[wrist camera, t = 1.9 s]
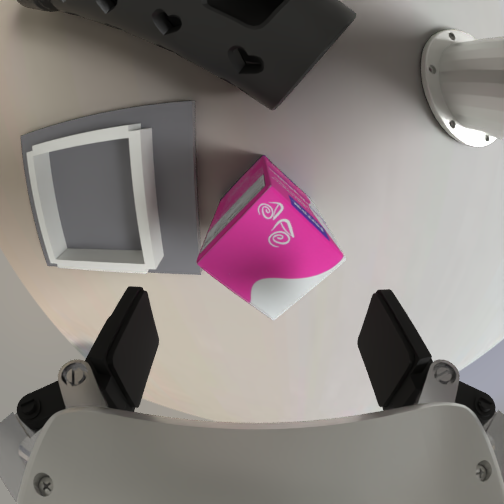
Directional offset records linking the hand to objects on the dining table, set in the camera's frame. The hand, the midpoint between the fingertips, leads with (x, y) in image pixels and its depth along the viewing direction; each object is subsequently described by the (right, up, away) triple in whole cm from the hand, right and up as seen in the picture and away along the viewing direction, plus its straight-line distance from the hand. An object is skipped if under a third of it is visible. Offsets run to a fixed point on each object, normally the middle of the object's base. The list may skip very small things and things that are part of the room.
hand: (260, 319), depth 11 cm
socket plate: (-15, +8, +13) cm, 22 cm away
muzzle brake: (-8, +25, +4) cm, 26 cm away
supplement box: (+1, +8, +13) cm, 15 cm away
